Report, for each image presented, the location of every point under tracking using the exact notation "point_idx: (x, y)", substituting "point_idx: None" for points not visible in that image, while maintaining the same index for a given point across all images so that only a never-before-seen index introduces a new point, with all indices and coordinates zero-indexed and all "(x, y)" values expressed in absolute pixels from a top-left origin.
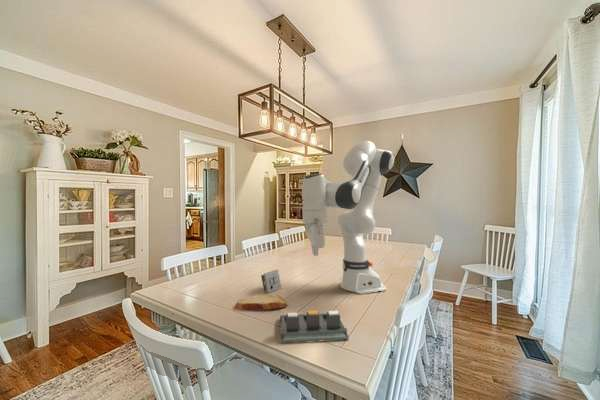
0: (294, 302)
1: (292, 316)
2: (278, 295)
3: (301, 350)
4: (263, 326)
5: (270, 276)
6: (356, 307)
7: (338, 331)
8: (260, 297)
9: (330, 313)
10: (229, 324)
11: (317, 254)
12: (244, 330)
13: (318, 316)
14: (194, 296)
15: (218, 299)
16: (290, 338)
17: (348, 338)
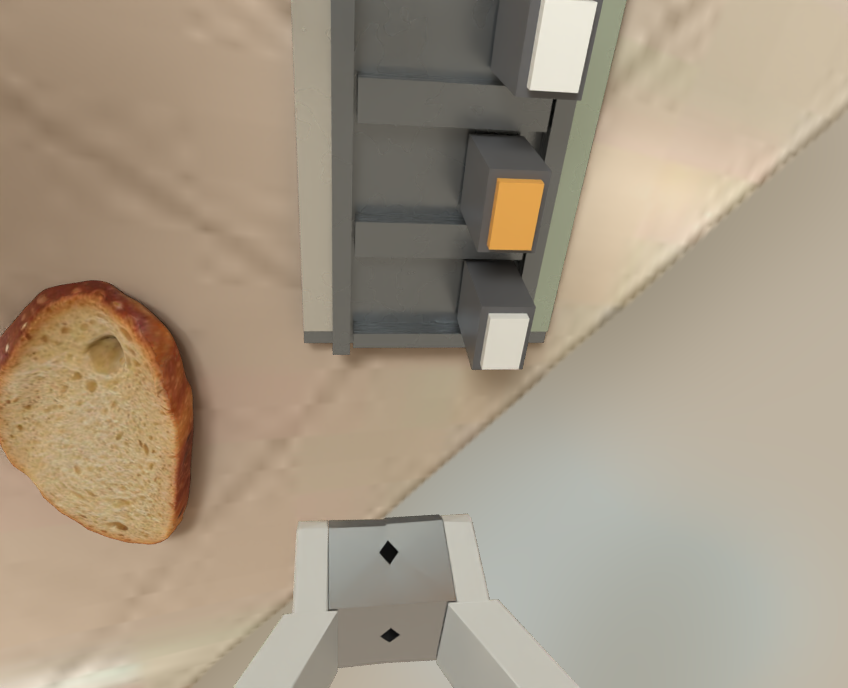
0: (30, 226)
1: (521, 343)
2: (11, 362)
3: (620, 248)
4: (373, 403)
5: None
6: None
7: None
8: (49, 454)
9: (572, 81)
10: None
11: (471, 530)
12: (397, 467)
13: (548, 175)
14: (54, 676)
15: (71, 601)
16: (553, 304)
17: None
